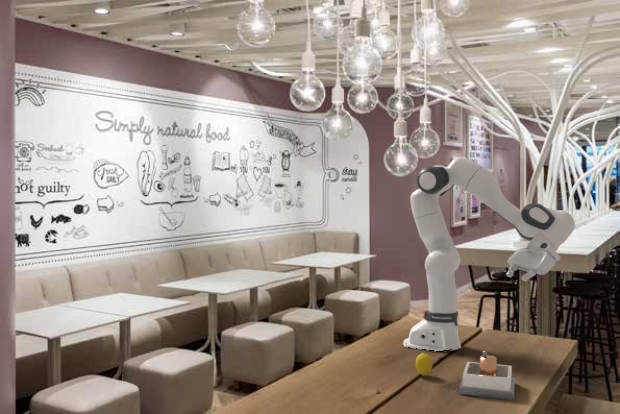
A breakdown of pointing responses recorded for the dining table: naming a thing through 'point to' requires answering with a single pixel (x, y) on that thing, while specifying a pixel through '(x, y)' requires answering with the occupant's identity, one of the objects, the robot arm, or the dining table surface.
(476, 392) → the open square box
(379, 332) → the dining table surface
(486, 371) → the copper upright cylinder
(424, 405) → the dining table surface
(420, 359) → the lemon
